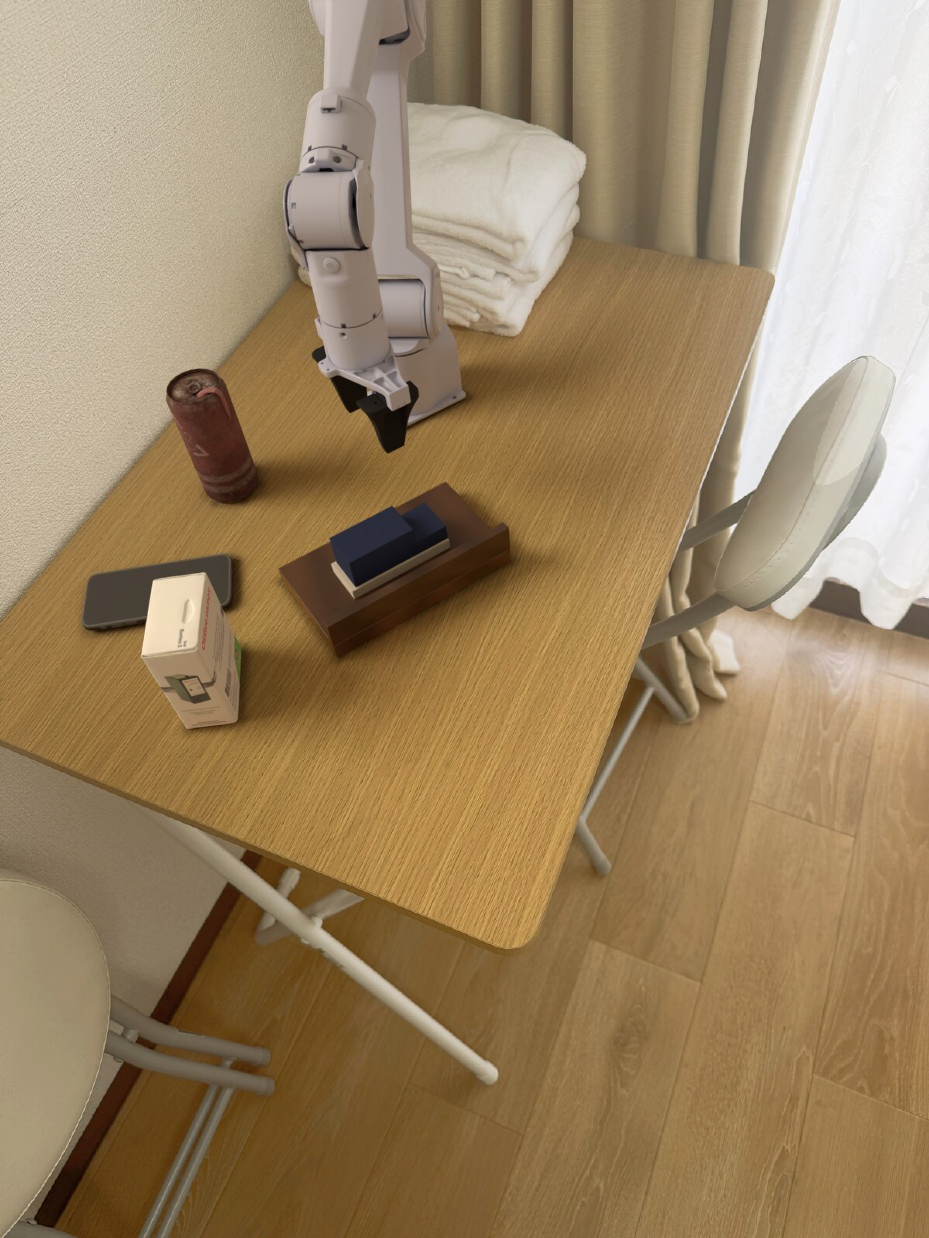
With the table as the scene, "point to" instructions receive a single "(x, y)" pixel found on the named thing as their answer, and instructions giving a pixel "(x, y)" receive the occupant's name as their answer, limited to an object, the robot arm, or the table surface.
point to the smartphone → (147, 589)
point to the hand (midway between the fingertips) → (375, 427)
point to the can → (212, 434)
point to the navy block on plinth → (386, 547)
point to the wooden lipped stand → (408, 592)
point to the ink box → (193, 650)
